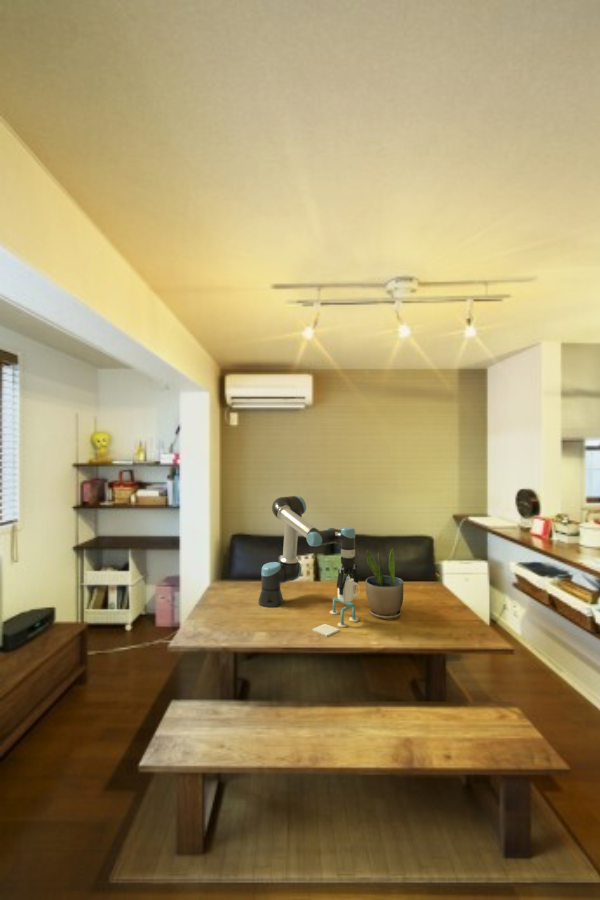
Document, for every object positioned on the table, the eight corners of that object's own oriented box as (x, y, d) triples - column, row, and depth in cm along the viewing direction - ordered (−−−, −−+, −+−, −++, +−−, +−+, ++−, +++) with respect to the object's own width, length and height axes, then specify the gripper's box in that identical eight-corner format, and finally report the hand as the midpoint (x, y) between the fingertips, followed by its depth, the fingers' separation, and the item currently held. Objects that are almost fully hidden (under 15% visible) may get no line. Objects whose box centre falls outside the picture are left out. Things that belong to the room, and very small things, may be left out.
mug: (359, 602, 214) (360, 582, 214) (337, 601, 216) (337, 581, 216) (359, 596, 223) (359, 577, 223) (337, 595, 225) (338, 576, 225)
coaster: (311, 630, 209) (311, 629, 209) (324, 625, 216) (324, 623, 216) (326, 636, 202) (326, 635, 202) (339, 630, 209) (339, 629, 209)
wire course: (316, 618, 225) (316, 601, 225) (333, 610, 236) (333, 595, 236) (342, 628, 212) (343, 611, 212) (360, 620, 222) (360, 603, 222)
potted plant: (357, 615, 230) (358, 544, 231) (378, 604, 246) (378, 538, 246) (390, 625, 216) (391, 550, 216) (410, 614, 232) (410, 543, 232)
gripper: (340, 561, 209) (340, 605, 208) (365, 554, 224) (365, 595, 224) (329, 558, 214) (329, 601, 214) (354, 552, 229) (354, 592, 229)
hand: (347, 598), depth 219 cm, fingers closed on mug, 9 cm apart
